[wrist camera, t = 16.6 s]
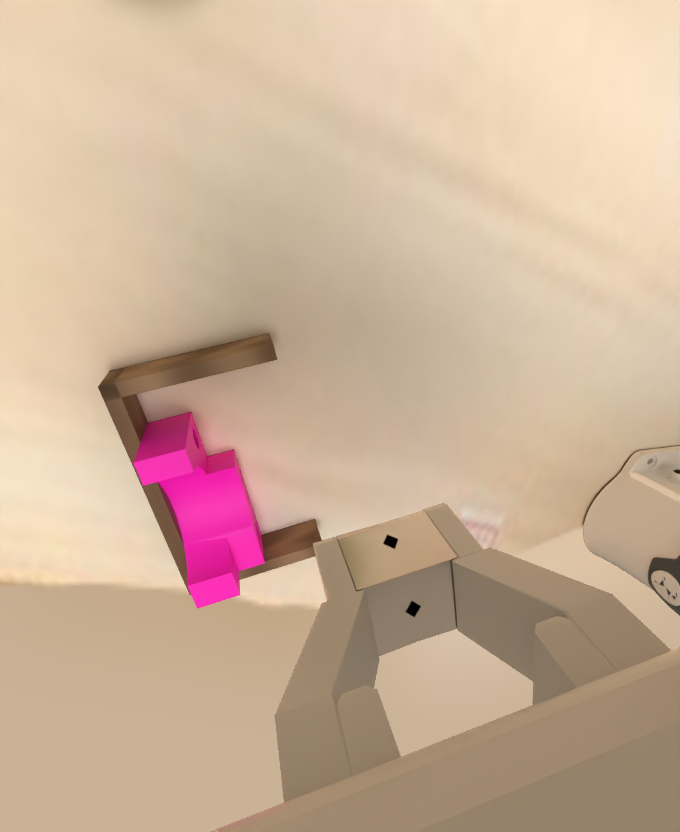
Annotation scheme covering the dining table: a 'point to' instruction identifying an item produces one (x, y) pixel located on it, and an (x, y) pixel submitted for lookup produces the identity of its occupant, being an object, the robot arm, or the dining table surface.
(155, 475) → the toy block
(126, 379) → the walnut bay
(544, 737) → the robot arm
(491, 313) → the dining table surface
